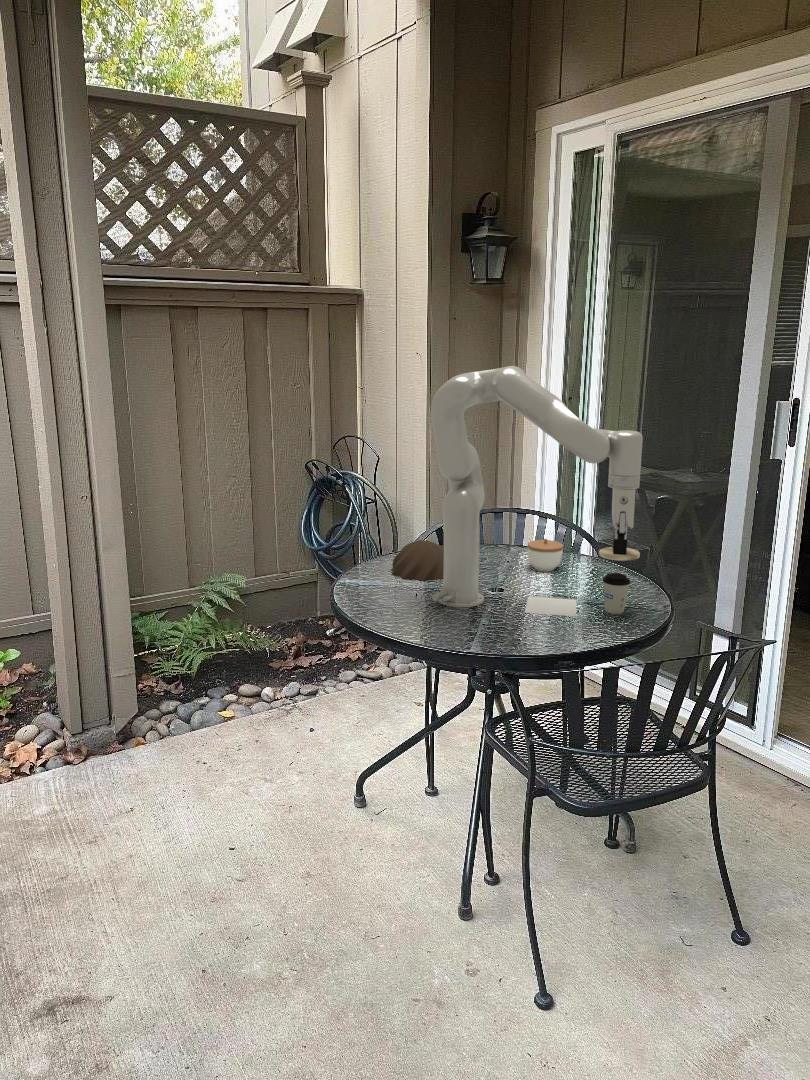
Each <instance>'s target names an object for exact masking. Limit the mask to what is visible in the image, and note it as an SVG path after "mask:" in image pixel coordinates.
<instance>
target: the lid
mask: <svg viewBox="0 0 810 1080" xmlns="http://www.w3.org/2000/svg"><path fill="white" fill-rule="evenodd" d="M613 535H614V539H615V531H614V532H613ZM613 546H614V542H613V541H612V546H610V547H608V546H607V547H603V548H601V549H599V551H598V555H599V557H601V558H603V559H605V560H612V561H619V562H620V561H621V562H622V561H625V562H627V561H636V560H638V559H639V558H640V555H641V552H640V551H639V550H637V549H635V548H634V549H633V548H630V547H629V548H628V547H627V551H626V555H620V554H613Z"/></svg>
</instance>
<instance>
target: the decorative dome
mask: <svg viewBox="0 0 810 1080" xmlns="http://www.w3.org/2000/svg"><path fill="white" fill-rule="evenodd" d="M443 556H444V546H442V545H440V544H438V543H436V542H433V541H430V540H428V539H427V540H423V539H420V540H415V541H413V542H410V543H407V544H406V545H404V547H402V548H401V549H400V552H399V553H397V554H396V556H395V557H394V558H393V560H392V572H391V575H393V576H397V577H399V576H400V577H401V578H402V579H401V578H400V577H399V578H400V579H401V580H404V579H409V581H411V580H410V579H414V580H413V581H416V580H418V581H417V582H421V581H424V582H427V581H426V580H430V581H438V580H437V579H440V580H439V581H442V580H441V579H443Z"/></svg>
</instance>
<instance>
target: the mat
mask: <svg viewBox="0 0 810 1080" xmlns="http://www.w3.org/2000/svg"><path fill="white" fill-rule="evenodd" d="M577 602H578V601H577V599H573V598H572V599H571V598H558V597H556V598H555V597H544V596H528V597H527V600H526V603H525V604H526V605H525V608H524V613H526V614H537V615H553V616H565V617H566V616H567V617H577V605H578V603H577Z"/></svg>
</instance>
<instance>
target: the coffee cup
mask: <svg viewBox="0 0 810 1080" xmlns="http://www.w3.org/2000/svg"><path fill="white" fill-rule="evenodd" d="M602 582H603V598H604V611H605V613H608V614H611V615H612V614H613V615H621V614H623V613H624V612H625V608H626V601H627V597H628V593H629V587H630V585H631V580H630V578H628V577H627V575H626V574H623V573H619V572H611V573H606V575H605V576H604V577H603V578H602Z"/></svg>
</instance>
